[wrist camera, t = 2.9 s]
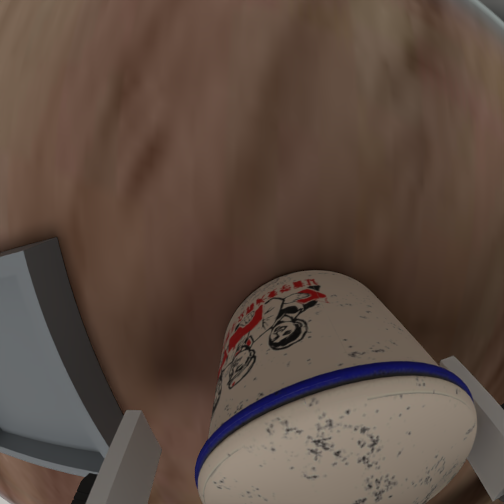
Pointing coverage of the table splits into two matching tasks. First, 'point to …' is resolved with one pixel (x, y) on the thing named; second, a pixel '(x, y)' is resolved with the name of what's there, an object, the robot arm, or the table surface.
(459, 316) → the table surface
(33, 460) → the square tray
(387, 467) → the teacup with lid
